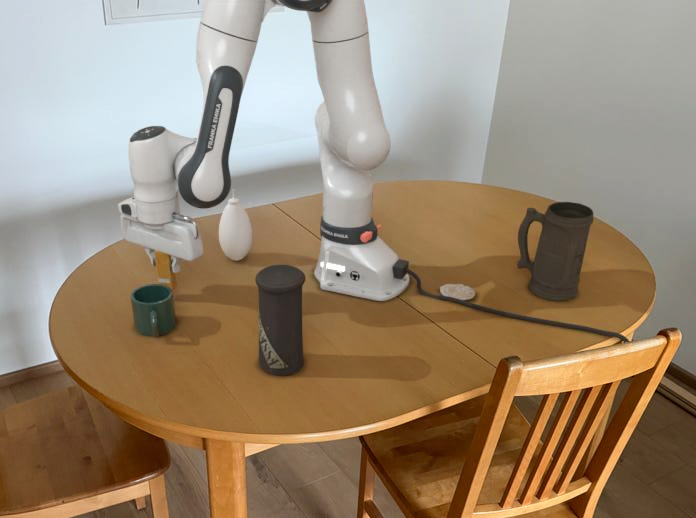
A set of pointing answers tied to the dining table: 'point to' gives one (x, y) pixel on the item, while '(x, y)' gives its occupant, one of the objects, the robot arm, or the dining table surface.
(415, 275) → the robot arm
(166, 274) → the supplement box
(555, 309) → the dining table surface
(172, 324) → the teal faceted mug
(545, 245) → the beer stein
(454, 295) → the flatbread
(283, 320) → the container
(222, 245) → the white air blower bulb
